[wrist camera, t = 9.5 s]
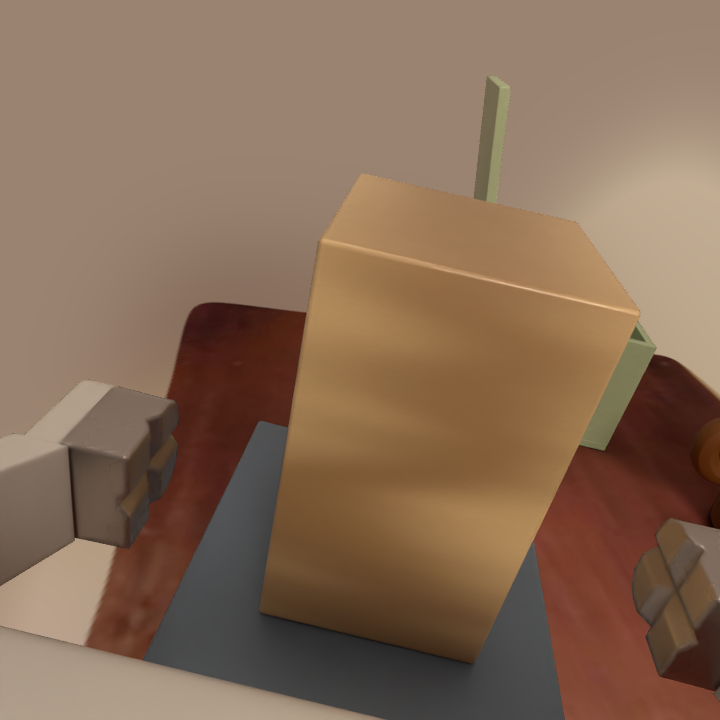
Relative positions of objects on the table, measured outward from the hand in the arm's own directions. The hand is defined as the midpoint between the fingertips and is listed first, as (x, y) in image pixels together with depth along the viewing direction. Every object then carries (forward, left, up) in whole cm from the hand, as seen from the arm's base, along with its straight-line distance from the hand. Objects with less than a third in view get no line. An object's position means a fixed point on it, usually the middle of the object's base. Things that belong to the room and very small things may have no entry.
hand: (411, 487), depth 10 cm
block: (0, +2, -4) cm, 5 cm away
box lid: (+5, +38, -2) cm, 39 cm away
